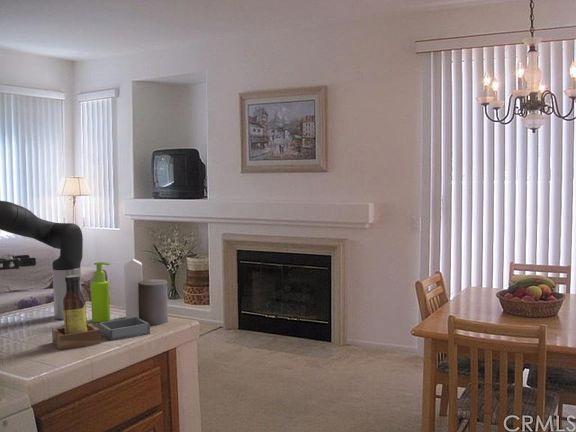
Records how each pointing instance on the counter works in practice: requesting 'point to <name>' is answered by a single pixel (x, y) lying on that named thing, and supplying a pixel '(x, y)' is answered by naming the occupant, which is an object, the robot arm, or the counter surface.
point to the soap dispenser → (100, 295)
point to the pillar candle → (153, 301)
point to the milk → (132, 287)
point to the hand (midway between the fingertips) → (32, 260)
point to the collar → (75, 338)
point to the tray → (124, 328)
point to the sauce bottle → (74, 306)
